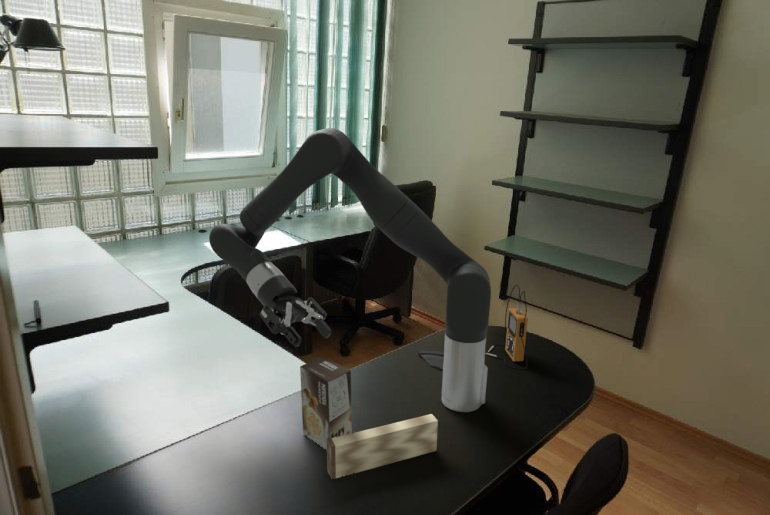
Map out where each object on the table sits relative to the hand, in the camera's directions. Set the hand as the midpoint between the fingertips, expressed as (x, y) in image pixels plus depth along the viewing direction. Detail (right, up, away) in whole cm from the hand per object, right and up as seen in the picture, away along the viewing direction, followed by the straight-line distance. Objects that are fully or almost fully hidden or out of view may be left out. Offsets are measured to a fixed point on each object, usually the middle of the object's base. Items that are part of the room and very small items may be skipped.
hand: (314, 339), depth 106 cm
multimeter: (+46, -11, +37) cm, 60 cm away
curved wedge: (+31, -12, +34) cm, 47 cm away
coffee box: (+2, -21, +2) cm, 21 cm away
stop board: (+14, -23, -5) cm, 27 cm away
